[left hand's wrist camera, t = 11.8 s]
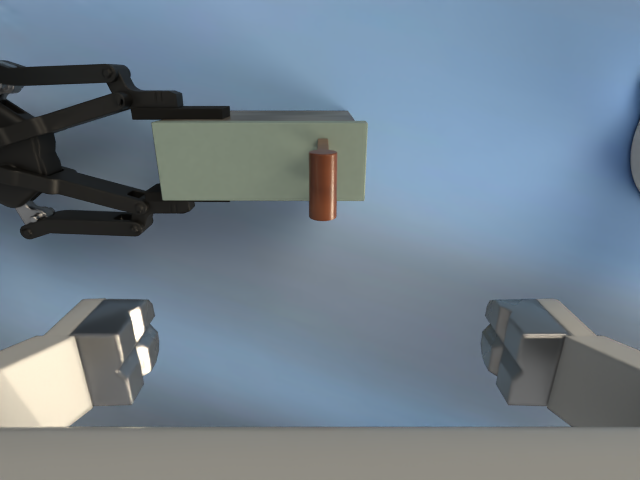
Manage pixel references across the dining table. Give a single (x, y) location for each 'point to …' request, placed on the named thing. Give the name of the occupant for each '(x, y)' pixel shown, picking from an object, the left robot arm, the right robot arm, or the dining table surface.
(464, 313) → the dining table surface
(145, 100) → the right robot arm
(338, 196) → the lid
